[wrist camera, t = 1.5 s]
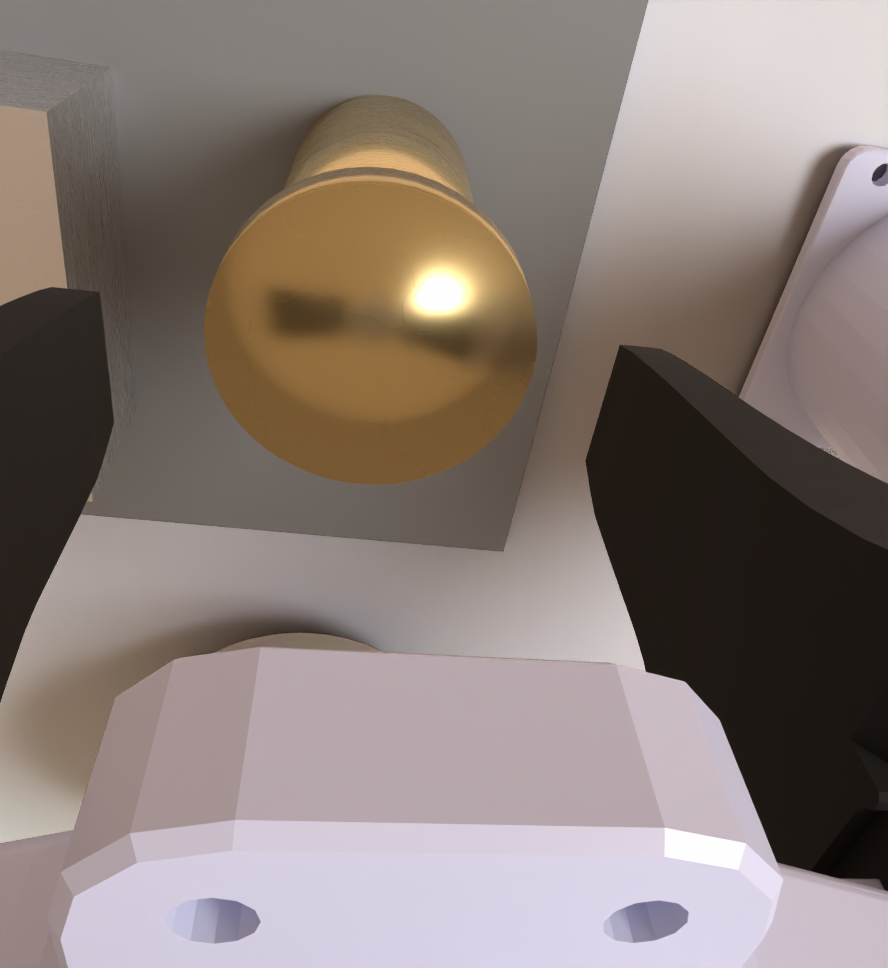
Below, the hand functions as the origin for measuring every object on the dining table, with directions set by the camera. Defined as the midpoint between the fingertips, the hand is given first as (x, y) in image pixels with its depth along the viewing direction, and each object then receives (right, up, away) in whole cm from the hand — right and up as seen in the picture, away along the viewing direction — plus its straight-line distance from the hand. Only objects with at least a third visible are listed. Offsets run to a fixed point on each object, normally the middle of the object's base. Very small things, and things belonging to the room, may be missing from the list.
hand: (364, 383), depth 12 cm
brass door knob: (0, +5, +7) cm, 9 cm away
